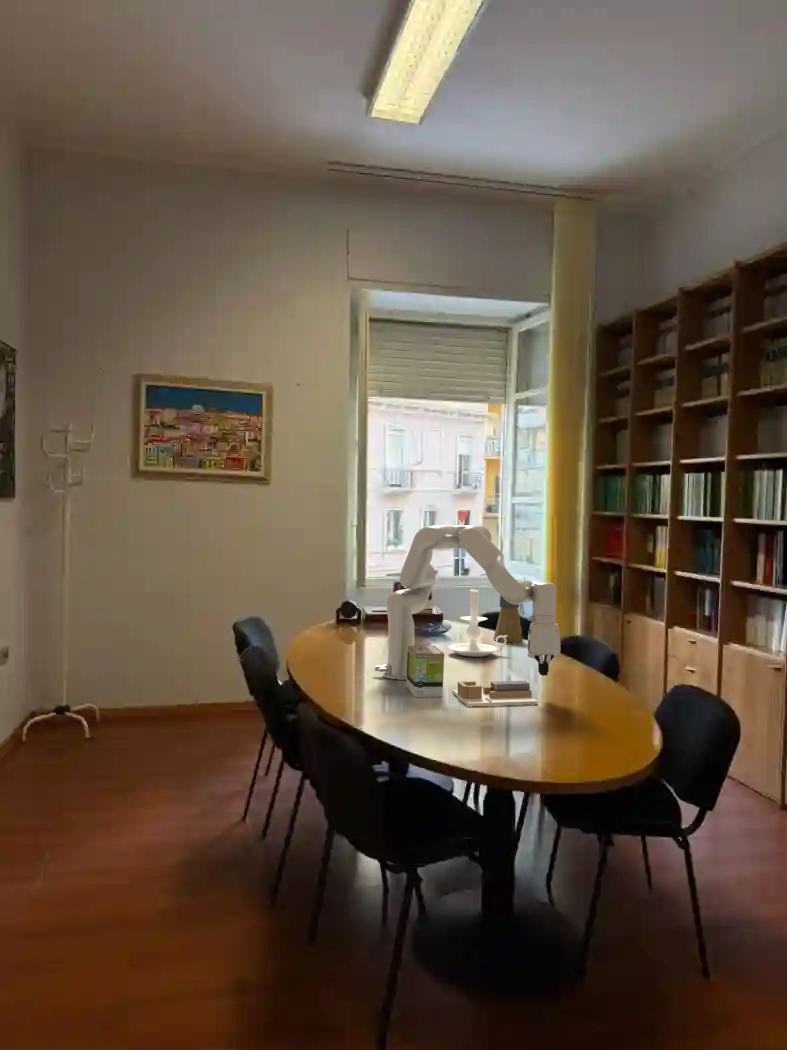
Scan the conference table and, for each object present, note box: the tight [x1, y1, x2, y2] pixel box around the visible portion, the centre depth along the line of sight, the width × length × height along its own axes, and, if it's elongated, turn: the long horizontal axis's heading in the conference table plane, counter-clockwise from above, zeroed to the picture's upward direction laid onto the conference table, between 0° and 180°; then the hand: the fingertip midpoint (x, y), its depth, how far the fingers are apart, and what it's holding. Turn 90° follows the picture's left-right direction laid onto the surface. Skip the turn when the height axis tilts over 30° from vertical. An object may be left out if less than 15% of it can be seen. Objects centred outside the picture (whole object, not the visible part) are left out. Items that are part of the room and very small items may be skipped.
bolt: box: [490, 680, 531, 691], centre depth 266 cm, size 12×4×4 cm, turn 102°
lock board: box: [452, 680, 538, 708], centre depth 265 cm, size 23×18×5 cm
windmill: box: [492, 576, 526, 644], centre depth 376 cm, size 21×14×30 cm, turn 164°
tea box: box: [406, 645, 445, 698], centre depth 272 cm, size 15×10×15 cm, turn 9°
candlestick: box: [448, 588, 508, 658], centre depth 338 cm, size 21×25×28 cm
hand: (543, 674), depth 268 cm, fingers closed
